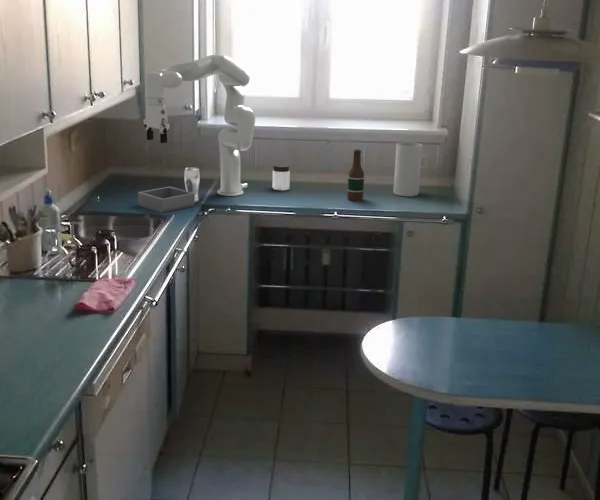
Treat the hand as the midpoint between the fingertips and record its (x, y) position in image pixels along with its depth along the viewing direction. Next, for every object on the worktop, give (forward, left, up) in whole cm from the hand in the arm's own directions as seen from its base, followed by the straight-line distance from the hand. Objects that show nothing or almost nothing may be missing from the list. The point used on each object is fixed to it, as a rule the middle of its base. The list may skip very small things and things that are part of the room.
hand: (156, 141), depth 331 cm
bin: (-5, -1, -30) cm, 30 cm away
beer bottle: (-80, +48, -30) cm, 98 cm away
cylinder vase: (-108, +58, -30) cm, 126 cm away
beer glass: (-20, -1, -30) cm, 36 cm away
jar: (-69, +9, -30) cm, 76 cm away
